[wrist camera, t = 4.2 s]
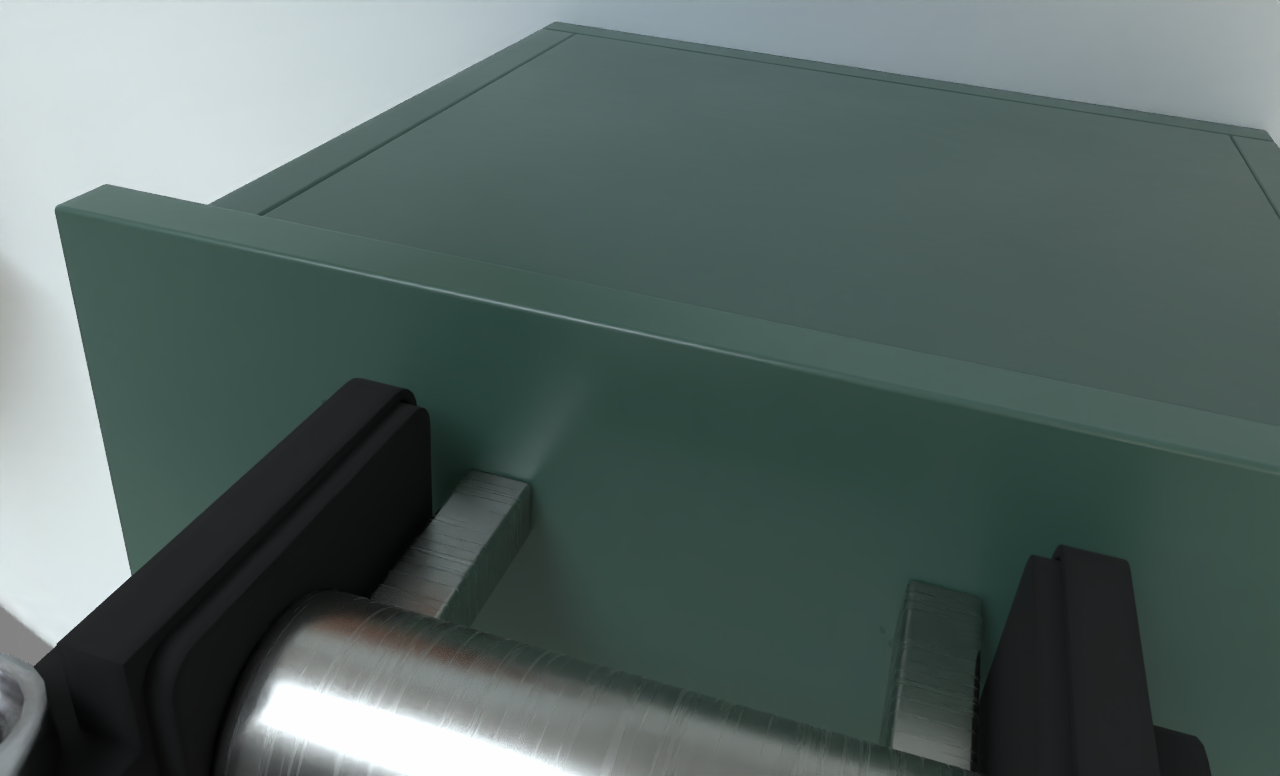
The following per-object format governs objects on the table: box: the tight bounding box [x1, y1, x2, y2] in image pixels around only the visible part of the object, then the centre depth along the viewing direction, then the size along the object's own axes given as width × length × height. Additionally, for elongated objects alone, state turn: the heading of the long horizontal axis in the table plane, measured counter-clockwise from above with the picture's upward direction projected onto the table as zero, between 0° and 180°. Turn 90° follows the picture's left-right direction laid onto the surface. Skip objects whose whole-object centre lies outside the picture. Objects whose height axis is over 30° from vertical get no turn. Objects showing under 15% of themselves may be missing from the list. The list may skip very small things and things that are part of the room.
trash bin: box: [208, 22, 1280, 427], centre depth 21 cm, size 18×15×14 cm
